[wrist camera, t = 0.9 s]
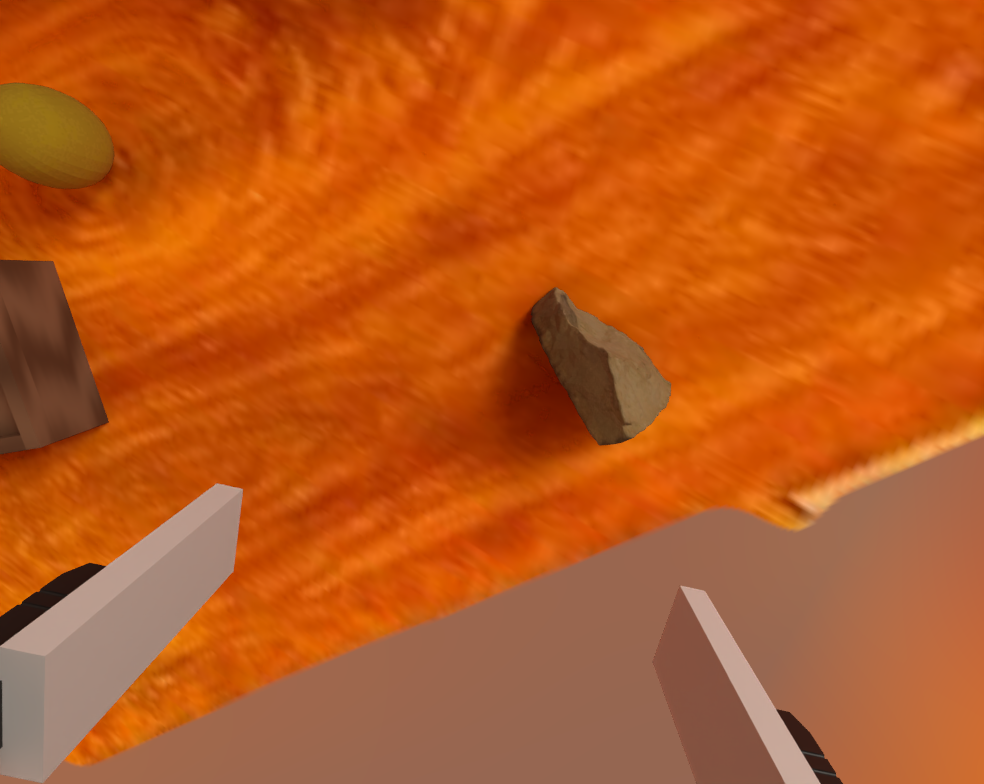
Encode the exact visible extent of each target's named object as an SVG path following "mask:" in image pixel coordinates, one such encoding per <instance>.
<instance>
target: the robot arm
mask: <svg viewBox="0 0 984 784" xmlns="http://www.w3.org/2000/svg"><path fill="white" fill-rule="evenodd" d="M242 494H243V489H240V488H236V487H231V486H227V485H222V484H218V483H217V484H216V485H214V486H213V487H212V488H210V489H209V490H208V491H206V492H205V493H204V494H202V495H201V496H200V497H198V498H197V499H196V500H194V501H193V502H192V503H190V504H189V505H188V506H186V507H185V508H184V509H182V510H181V511H180V512H178V513H177V514H176V515H174V516H173V517H172V518H170V519H169V520H168V521H166V522H165V523H164V524H162V525H161V526H160V527H158V528H157V529H156V530H154V531H153V532H152V533H150V534H149V535H148V536H146V537H145V538H144V539H142V540H141V541H140V542H138V543H137V544H136V545H134V546H133V547H132V548H130V549H129V550H128V551H126V552H125V553H124V554H122V555H121V556H120V557H118V558H117V559H116V560H114V561H113V562H112V563H110V564H109V565H108V566H102V565H98V564H93V563H88V564H86V565H83V566H81V567H78V568H76V569H73V570H71V571H68V572H66V573H63V574H61V575H60V576H58V577H57V578H56V579H54V580H53V581H51V582H50V583H48V584H47V585H45V586H44V587H43V588H41V589H40V591H39V592H35V593H34V594H32V595H31V596H30V597H28V598H27V599H25V600H24V601H23V602H22V604H21V605H17V606H15V607H14V608H12V609H11V610H9V611H8V612H6V613H5V614H4V615H2V616H1V617H0V774H1V775H5V776H10V777H15V778H20V779H25V780H30V781H35V782H39V783H43V782H44V781H45V780H46V779H47V778H48V777H49V776H50V775H51V773H52V772H53V771H54V770H55V769H56V768H57V767H58V766H59V764H61V762H62V761H63V760H64V759H65V758H66V757H67V756H68V755H69V754H70V752H71V751H72V750H73V749H74V748H75V747H76V746H77V745H78V744H79V742H80V741H81V740H82V739H83V738H84V737H85V736H86V735H87V733H88V732H89V731H90V730H91V729H92V728H93V727H94V726H95V725H96V723H97V722H98V721H99V720H100V719H101V718H102V717H103V716H104V715H105V713H106V712H107V711H108V710H109V709H110V708H111V707H112V706H113V705H114V703H115V702H116V701H117V700H118V699H119V698H120V697H121V696H122V695H123V693H124V692H125V691H126V690H127V689H128V688H129V687H130V686H131V685H132V683H133V682H134V681H135V680H136V679H137V678H138V677H139V676H140V674H141V673H142V672H143V671H144V670H145V669H146V668H147V667H148V666H149V664H150V663H151V662H152V661H153V660H154V659H155V658H156V657H157V656H158V654H159V653H160V652H161V651H162V650H163V649H164V648H165V647H166V646H167V644H168V643H169V642H170V641H171V640H172V639H173V638H174V637H175V636H176V634H177V633H178V632H179V631H180V630H181V629H182V628H183V627H184V626H185V624H186V623H187V622H188V621H189V620H190V619H191V618H192V617H193V616H194V614H195V613H196V612H197V611H198V610H199V609H200V608H201V607H202V605H203V604H204V603H205V602H206V601H207V600H208V599H209V598H210V597H211V595H212V594H213V593H214V592H215V591H216V590H217V589H218V588H219V587H220V585H221V584H222V583H223V582H224V581H225V580H226V579H227V578H228V577H229V575H230V574H231V573H232V572H233V571H234V562H235V554H236V545H237V537H238V528H239V519H240V511H241V502H242ZM653 665H654V667H655V670H656V673H657V676H658V679H659V681H660V684H661V687H662V690H663V692H664V695H665V698H666V701H667V704H668V706H669V709H670V712H671V714H672V717H673V720H674V723H675V726H676V728H677V731H678V734H679V737H680V739H681V742H682V745H683V748H684V751H685V753H686V756H687V759H688V761H689V764H690V767H691V770H692V773H693V775H694V778H695V781H696V784H843V783H842V782H841V780H840V779H839V778H837V777H836V773H835V771H834V769H833V768H832V766H831V765H830V763H829V762H828V760H827V759H825V758H824V754H823V752H822V751H821V749H820V747H819V746H818V744H817V743H816V741H815V740H814V738H813V737H812V735H811V734H810V732H809V731H808V730H807V729H806V728H805V727H804V726H802V724H801V723H800V722H799V721H798V720H797V719H796V718H795V717H794V716H793V715H792V714H791V713H790V712H786V711H782V710H777V709H775V707H774V705H773V704H772V702H771V701H770V699H769V697H768V696H767V694H766V692H765V690H764V689H763V687H762V685H761V684H760V682H759V680H758V679H757V677H756V675H755V674H754V672H753V671H752V669H751V667H750V666H749V664H748V662H747V660H746V659H745V657H744V655H743V654H742V652H741V650H740V649H739V647H738V645H737V644H736V642H735V640H734V639H733V637H732V635H731V634H730V632H729V630H728V629H727V627H726V625H725V624H724V622H723V620H722V619H721V617H720V616H719V614H718V612H717V610H716V609H715V607H714V605H713V604H712V602H711V600H710V599H709V597H708V595H707V594H706V592H705V591H703V590H698V589H694V588H689V587H685V586H679V589H678V592H677V595H676V597H675V600H674V603H673V606H672V609H671V611H670V614H669V617H668V620H667V623H666V625H665V628H664V631H663V634H662V637H661V639H660V642H659V645H658V648H657V651H656V653H655V656H654V659H653Z"/></svg>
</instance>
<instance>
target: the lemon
mask: <svg viewBox="0 0 984 784" xmlns="http://www.w3.org/2000/svg"><path fill="white" fill-rule="evenodd" d="M113 160H114V146H113V142H112V139H111V136H110V134H109V132H108V130H107V129H106V127H105V125H104V124H103V123H102V121H101V120H100V119H99V118H98V117H97V116H96V115H95V114H94V113H93V112H92V111H91V110H90V109H89V108H87V107H86V106H84V105H83V104H82V103H80V102H79V101H77V100H76V99H74V98H72V97H70V96H68V95H66V94H64V93H61V92H59V91H56V90H54V89H51V88H48V87H44V86H39V85H33V84H25V83H9V84H2V85H0V165H2V166H3V167H4V168H6V169H8V170H9V171H11V172H13V173H15V174H17V175H18V176H20V177H22V178H24V179H27V180H29V181H32V182H35V183H38V184H42V185H45V186H49V187H53V188H61V189H78V188H83V187H87V186H91V185H93V184H96V183H97V182H99V181H100V180H102V179H103V178H104V177H105V176H106V175H107V174H108V172H109V171H110V169H111V166H112V164H113Z"/></svg>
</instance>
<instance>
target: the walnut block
mask: <svg viewBox="0 0 984 784" xmlns="http://www.w3.org/2000/svg"><path fill="white" fill-rule="evenodd" d="M108 422H109V421H108V418H107V415H106V413H105V410H104V407H103V404H102V401H101V398H100V395H99V392H98V389H97V387H96V384H95V381H94V378H93V375H92V372H91V369H90V366H89V363H88V361H87V358H86V355H85V352H84V349H83V346H82V343H81V340H80V337H79V335H78V332H77V329H76V326H75V323H74V320H73V317H72V314H71V311H70V309H69V306H68V303H67V300H66V297H65V294H64V291H63V288H62V285H61V283H60V280H59V277H58V274H57V271H56V268H55V265H54V262H53V261H20V260H0V454H4V453H11V452H17V451H23V450H29V449H35V448H41V447H43V446H46V445H49V444H51V443H54V442H57V441H59V440H62V439H65V438H68V437H70V436H73V435H76V434H78V433H81V432H84V431H86V430H89V429H92V428H94V427H97V426H100V425H102V424H105V423H108Z"/></svg>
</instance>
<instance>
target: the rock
mask: <svg viewBox="0 0 984 784" xmlns="http://www.w3.org/2000/svg"><path fill="white" fill-rule="evenodd" d="M531 315H532V319H531V320H532V324H533V326H534V328H535V330H536V332H537V334H538V336H539V341H540V343H541V345H542V348H543V349H544V351H545V353H546V354H547V356H548V358H549V362H550V364H551V366H552V367H553V369H554V371H555V373H556V375H557V377H558V379H559V381H560V383H561V384H562V385H563V387H564V388H565V389H566V390H567V392H568V395H569V397H570V399H571V400H572V402H573V404H574V405H575V407H576V409H577V412H578V414H579V415H580V417H581V418H582V420H583V422H584V423H585V425H586V427H587V429H588V431H589V432H590V434H591V435H592V437H593V438H594V439H595V440H596V441H597V443H598V445H610V444H617V443H622V442H624V441H627V440H629V439H631V438H634V437H635V436H636V435H637V434H638V433H639V432H641V431H643V430H645V429H646V427H647V426H649V425H650V424H652V422H653V421H654V419H655V418H656V416H658V414H659V412H661V410H663V409H664V408H666V406H667V403H668V402H669V396H670V395H671V383H670V382H668V381H666V380H665V379H664V378H663V377H662V376H661V374H660V373H659V371H658V370H657V369H656V367H655V366H654V365H653V364H652V361H651V359H650V358H649V357H648V356H647V355H646V353H645V352H644V349H643V348H642V347H641V346H639V345H638V344H637V343H635V342H634V341H632V340H631V339H630V338H629V337H627V335H625V334H624V333H623V332H619V331H618V330H616V329H615V328H614V327H612V326H607V325H605V324H604V323H602V322H601V321H599V320H598V318H597V317H595V316H593V315H591V314H589V313H587V312H584V311H582V310H579V309H577V308H576V307H575V305H574V304H573V302H572V301H571V300H570V299H569V297H568V296H567V294H566V293H565V292H563V291H562V290H560V289H558V288H553V289H552V290H551V291H550V292H549V293H548V294H546V295H545V296H544V297H543V298H542V299H541V300H539V301H538V302H537V303H536V304H535V305H534V306H533V308H532V312H531Z"/></svg>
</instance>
